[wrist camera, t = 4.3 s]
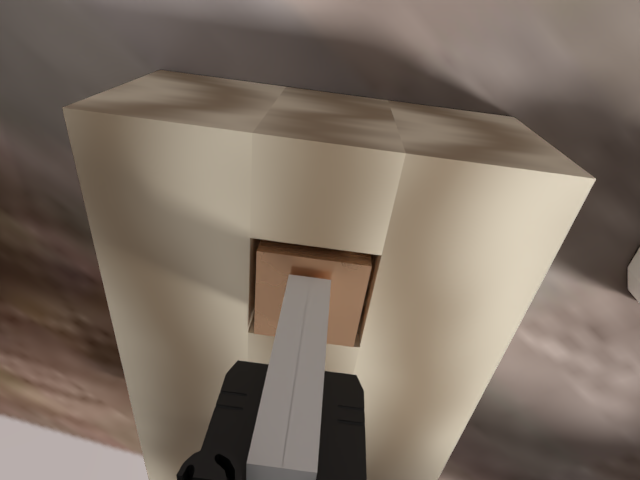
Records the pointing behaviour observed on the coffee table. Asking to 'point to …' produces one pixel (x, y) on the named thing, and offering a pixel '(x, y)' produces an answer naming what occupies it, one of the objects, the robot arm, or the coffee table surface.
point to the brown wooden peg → (315, 262)
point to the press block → (319, 231)
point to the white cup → (634, 276)
